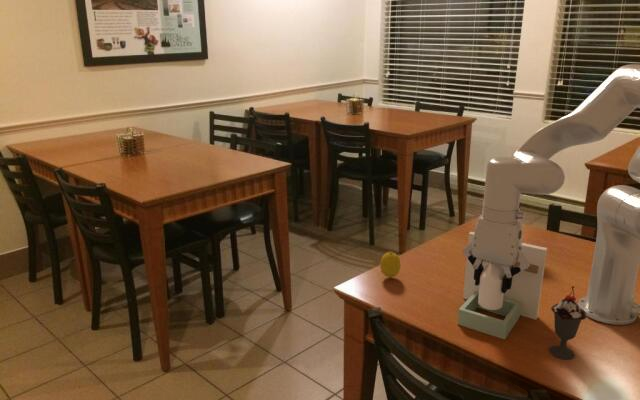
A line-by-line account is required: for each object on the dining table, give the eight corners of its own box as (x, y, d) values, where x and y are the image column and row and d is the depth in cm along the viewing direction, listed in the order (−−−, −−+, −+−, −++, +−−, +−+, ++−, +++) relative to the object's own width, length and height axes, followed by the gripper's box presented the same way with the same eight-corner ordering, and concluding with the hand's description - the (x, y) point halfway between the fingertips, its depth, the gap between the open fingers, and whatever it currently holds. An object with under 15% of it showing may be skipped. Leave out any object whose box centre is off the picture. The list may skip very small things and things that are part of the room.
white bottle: (501, 264, 115) (477, 257, 118) (495, 312, 118) (472, 304, 122) (512, 256, 119) (489, 249, 122) (506, 303, 123) (484, 295, 126)
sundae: (569, 343, 115) (579, 282, 110) (585, 361, 109) (596, 297, 104) (539, 344, 115) (548, 282, 110) (553, 362, 108) (563, 298, 104)
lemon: (384, 283, 142) (385, 256, 140) (377, 275, 147) (377, 248, 145) (403, 281, 144) (404, 254, 141) (395, 272, 149) (396, 246, 146)
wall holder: (537, 317, 125) (547, 248, 120) (520, 344, 115) (530, 270, 109) (465, 296, 135) (470, 231, 130) (443, 319, 125) (448, 250, 119)
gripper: (545, 216, 113) (534, 291, 119) (468, 202, 123) (462, 271, 129) (535, 226, 108) (525, 304, 113) (456, 210, 117) (450, 283, 123)
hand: (491, 286), depth 121 cm, fingers closed on white bottle, 5 cm apart
